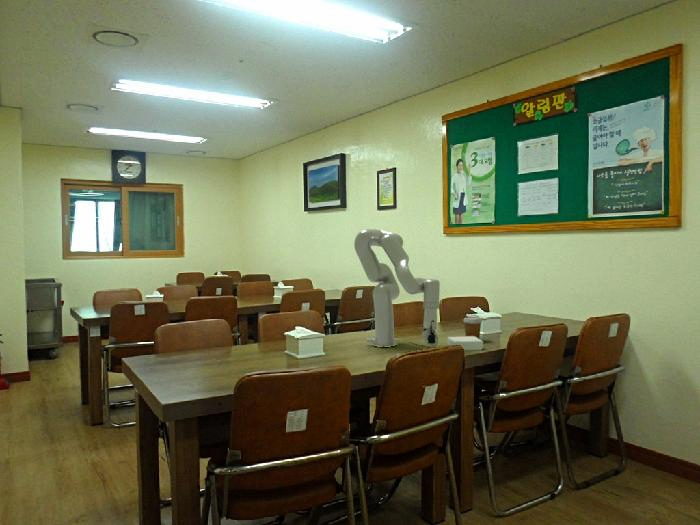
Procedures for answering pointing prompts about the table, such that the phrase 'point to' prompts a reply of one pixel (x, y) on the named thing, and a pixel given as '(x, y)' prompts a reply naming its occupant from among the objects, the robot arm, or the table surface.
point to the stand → (466, 342)
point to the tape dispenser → (425, 337)
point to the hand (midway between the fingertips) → (430, 341)
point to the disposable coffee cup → (472, 326)
